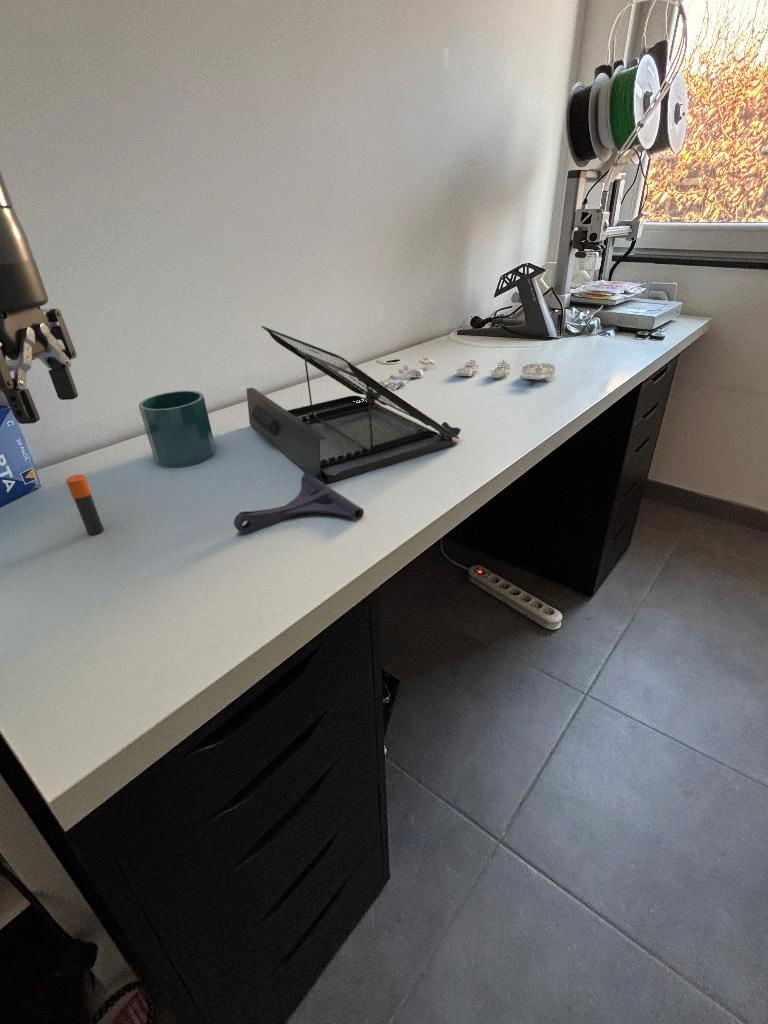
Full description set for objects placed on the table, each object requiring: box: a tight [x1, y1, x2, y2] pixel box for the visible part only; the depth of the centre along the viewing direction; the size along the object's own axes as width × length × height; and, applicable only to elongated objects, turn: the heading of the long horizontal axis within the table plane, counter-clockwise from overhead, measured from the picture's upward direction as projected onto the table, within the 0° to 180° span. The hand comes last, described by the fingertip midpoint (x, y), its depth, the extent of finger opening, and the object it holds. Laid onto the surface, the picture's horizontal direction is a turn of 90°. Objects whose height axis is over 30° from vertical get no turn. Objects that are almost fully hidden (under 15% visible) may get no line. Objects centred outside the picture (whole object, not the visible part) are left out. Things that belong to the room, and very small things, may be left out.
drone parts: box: [379, 357, 556, 391], centre depth 121 cm, size 23×35×3 cm, turn 60°
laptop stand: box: [245, 325, 462, 485], centre depth 93 cm, size 33×28×18 cm
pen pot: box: [138, 390, 217, 469], centre depth 90 cm, size 10×10×10 cm
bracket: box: [233, 473, 365, 535], centre depth 71 cm, size 14×15×3 cm
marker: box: [65, 473, 105, 536], centre depth 69 cm, size 2×2×8 cm
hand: (50, 410), depth 63 cm, fingers open, 8 cm apart
